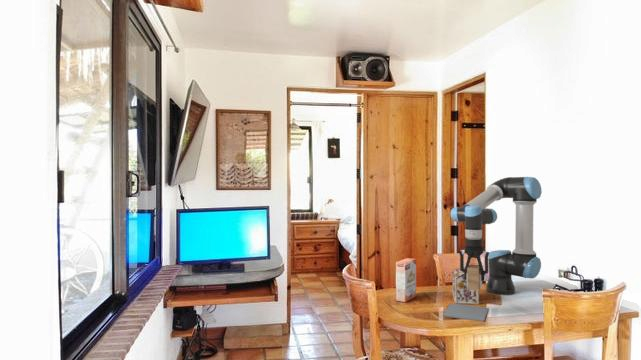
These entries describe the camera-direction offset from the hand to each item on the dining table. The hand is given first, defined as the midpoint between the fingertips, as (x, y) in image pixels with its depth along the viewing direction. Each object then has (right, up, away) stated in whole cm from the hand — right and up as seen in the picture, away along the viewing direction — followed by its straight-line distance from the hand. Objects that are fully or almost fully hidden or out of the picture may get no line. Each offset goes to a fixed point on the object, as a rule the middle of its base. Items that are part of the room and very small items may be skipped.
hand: (474, 286), depth 191 cm
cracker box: (-27, -14, +26) cm, 40 cm away
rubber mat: (-3, -13, +2) cm, 13 cm away
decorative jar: (+3, -13, +20) cm, 24 cm away
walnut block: (0, 0, 0) cm, 0 cm away
